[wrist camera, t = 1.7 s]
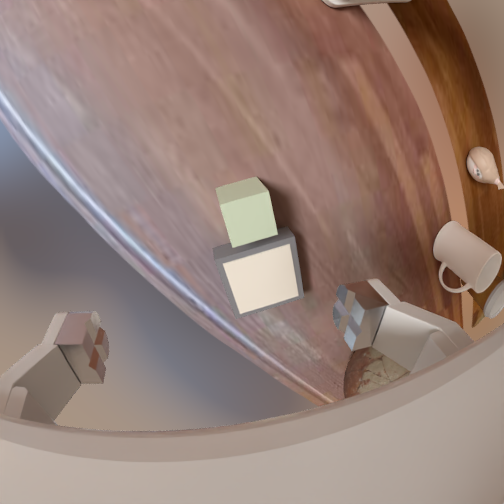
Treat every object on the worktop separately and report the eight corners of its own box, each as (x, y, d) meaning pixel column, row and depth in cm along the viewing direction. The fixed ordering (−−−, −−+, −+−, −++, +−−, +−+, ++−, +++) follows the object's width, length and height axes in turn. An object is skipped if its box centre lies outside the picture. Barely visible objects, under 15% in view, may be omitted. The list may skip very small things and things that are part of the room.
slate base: (287, 226, 37) (294, 236, 34) (297, 285, 42) (304, 298, 39) (212, 248, 36) (214, 260, 34) (232, 305, 41) (235, 319, 39)
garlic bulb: (459, 177, 38) (491, 193, 32) (462, 142, 35) (496, 155, 28) (477, 176, 39) (508, 191, 32) (480, 144, 36) (512, 156, 29)
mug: (425, 278, 48) (463, 315, 38) (416, 251, 44) (460, 289, 34) (463, 241, 46) (502, 271, 36) (457, 211, 42) (502, 241, 32)
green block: (256, 176, 33) (268, 191, 28) (264, 213, 35) (277, 234, 30) (215, 188, 33) (219, 205, 27) (226, 225, 35) (232, 247, 30)
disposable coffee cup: (470, 288, 55) (499, 316, 45) (451, 292, 53) (482, 323, 43) (485, 255, 51) (517, 282, 40) (466, 256, 49) (502, 286, 38)
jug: (407, 350, 60) (467, 440, 34) (331, 386, 60) (379, 493, 34) (418, 286, 49) (511, 395, 23) (322, 331, 48) (397, 479, 23)
